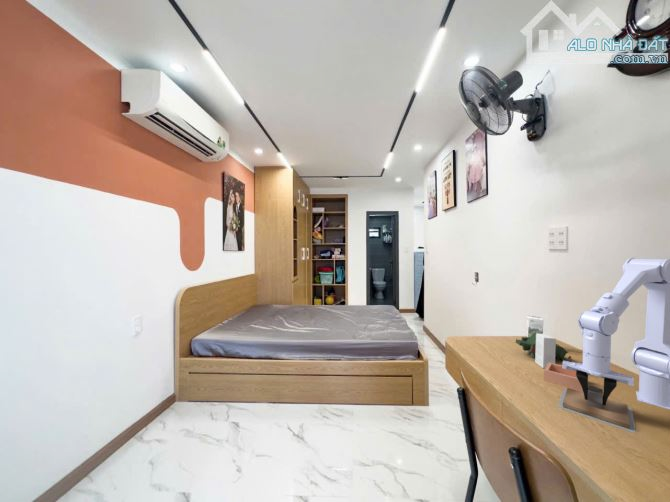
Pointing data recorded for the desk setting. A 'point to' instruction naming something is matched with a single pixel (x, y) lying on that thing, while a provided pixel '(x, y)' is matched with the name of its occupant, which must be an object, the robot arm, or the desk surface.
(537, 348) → the skincare box
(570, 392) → the walnut lid
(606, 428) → the desk surface
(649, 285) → the robot arm
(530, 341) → the green toy dinosaur
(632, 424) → the rubber mat
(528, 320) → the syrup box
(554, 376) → the pink open box
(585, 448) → the desk surface
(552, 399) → the desk surface
